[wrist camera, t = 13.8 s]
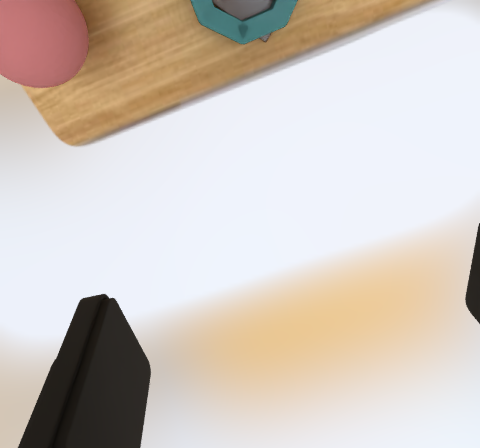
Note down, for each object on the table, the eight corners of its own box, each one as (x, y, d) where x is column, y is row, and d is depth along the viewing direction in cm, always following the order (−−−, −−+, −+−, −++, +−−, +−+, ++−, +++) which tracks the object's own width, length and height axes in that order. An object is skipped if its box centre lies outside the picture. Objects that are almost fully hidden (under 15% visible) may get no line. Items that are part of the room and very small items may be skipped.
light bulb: (100, -31, 30) (47, -42, 20) (121, 63, 34) (85, 94, 24) (12, -25, 30) (-87, -32, 20) (43, 69, 34) (-27, 103, 24)
